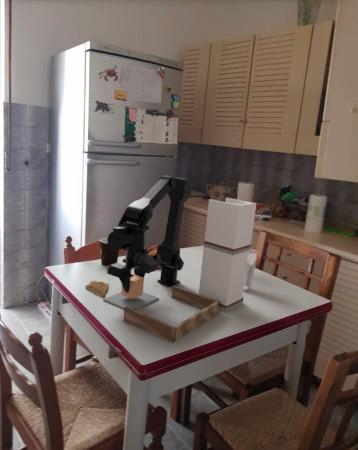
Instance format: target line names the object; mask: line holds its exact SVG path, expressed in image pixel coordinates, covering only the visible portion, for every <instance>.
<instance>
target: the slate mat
mask: <svg viewBox="0 0 358 450" xmlns="http://www.w3.org/2000/svg"><path fill="white" fill-rule="evenodd" d="M102 300H103V302H106V303H108V304H110V305H112V306H115V307H118V308H119V309H122V310H124V308H125V307H128V308H131V309H133V310H136V311H137V310H139V309H141V308H143V307H146V306H148V305H150V304H152V303H154V302H156V301H158V300H160V298H159V297H157V296H155V295H152V294H149V293H147V292H145V291H143V295H141V296H139V297H136V298H134V299H131V298H129V297H126V296H124V295H121V291H119V292H117V293H115V294H113V295H110V296H108V297H103V299H102Z"/></svg>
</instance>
